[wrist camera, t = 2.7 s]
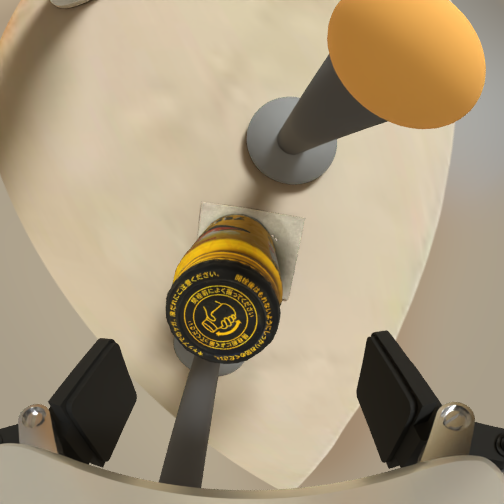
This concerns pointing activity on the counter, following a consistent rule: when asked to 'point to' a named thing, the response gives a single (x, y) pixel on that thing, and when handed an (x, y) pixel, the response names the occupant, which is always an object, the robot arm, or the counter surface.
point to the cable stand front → (372, 83)
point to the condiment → (233, 282)
